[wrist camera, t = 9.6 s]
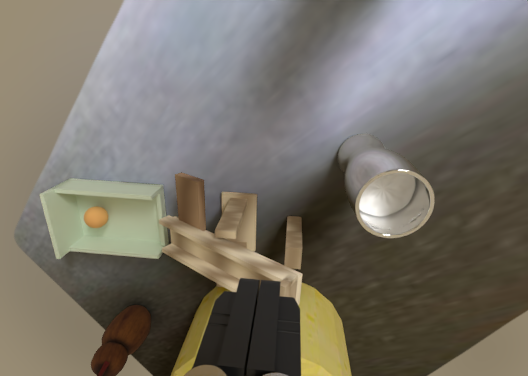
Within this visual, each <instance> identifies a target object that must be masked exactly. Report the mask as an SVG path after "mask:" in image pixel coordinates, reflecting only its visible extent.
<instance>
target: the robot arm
mask: <svg viewBox="0 0 528 376" xmlns="http://www.w3.org/2000/svg"><path fill="white" fill-rule="evenodd" d="M280 283H281V281H270V280H261V283H260V280H258V279H247V278H240V280H239V284H238V287H237V291H236V292H229V291H224V292H223V293H222V294H221V295H220V296H219V297H218V298H217V299H216V300H215V303H214V306H213V309H212V312H211V315H210V318H209V321H208V325H207V327H206V329H205V332H204V335H203V338H202V341H201V344H200V347H199V350H198V353H197V356H196V359H195V362H194V364H193V367H192V369H191V370H189V371H188V372H187V373H186V374H185V375H184V376H301V335H300V332H301V331H300V308H299V306H298V304H297V302H296V300H295V298H293V297H283V296H280Z"/></svg>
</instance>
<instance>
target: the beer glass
mask: <svg viewBox="0 0 528 376" xmlns="http://www.w3.org/2000/svg"><path fill="white" fill-rule="evenodd" d="M338 164H339V167H340V169H341V170H342V172H343V173H344V174H345V175H344V185H345V192H346V195H347V199H348V201H349V203H350V206H351V208H352V209H353V211H354V213H355V215H356V216H357V218H358V221H359V222H360V224H361V225H362V226H363V227H364V228H365V229H366V230H367V231H368V232H370V233H372V234H374V235H376V236H379V237H384V238H398V237H403V236H406V235H409V234H411V233H413V232H415V231H416V230H418V229H419V228H420V227H422V226H423V225H424V224H425V223H426V221H427V220H428V219H429V217H430V215H431V213H432V211H433V208H434V202H435V198H434V192H433V189H432V187H431V185H430V184H429V182H428V181H427V180H426V179H425V178H424V177H423V176H422V174H421V173H420V172H419V171H418V169H417V168H416V167H415V166H414V165H413V164H412V163H411V162H410V161H409V160H407V159H406V158H405V157H403V156H402V155H400V154H398V153H396V152H394V151H392V150H389V149H386V148H385V147H384V145H383V143H382V142H381V141H380V140H379V139H378V138H377V137H375V136H373V135H370V134H357V135H354V136H351V137H350V138H348V139H347V140H346V141H345V142H344V143H343V144H342V145H341V147H340V149H339V152H338Z"/></svg>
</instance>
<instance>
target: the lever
mask: <svg viewBox="0 0 528 376" xmlns="http://www.w3.org/2000/svg"><path fill="white" fill-rule="evenodd" d="M175 180H176V193H177V205H178V217H176V216H174V217H172V216H169V215H168V216H166V217H164V218H161V219H159V224H161V225H163V226H165V227H167V228H169V229H170V233H171V244H169V245H167V246H165V247H163V248H162V252H163V253H165V254H167V255H168V256H170V257H172V258H174V259H175V260H177V261H179V262H181V263H182V264H184V265H186V266H188V267H189V268H191V269H193V270H195V271H196V272H198V273H200V274H202V275H203V276H205V277H207V278H209V279H211V280H212V281H214V282H216V283H218V284H219V285H221V286H223V287H225V288H226V289H228V290H230V291H232V292H236V291H237V287H238V284H239V280H240V278H247V279H258V280H260V283H261V280H270V281H281V283H280V296H283V297H293V298H295V300H296V302H297V304H298V305H299V304H300V294H301V284H302V273H300V272H297V271H295V270H293V269H291V268H289V267H286V266H284V265H282V264H280V263H278V262H275V261H273V260H271V259H269V258H267V257H264V256H262V255H260V254H258V253H256V252H253V251H251V250H249V249H247V248H245V247H242V246H240V245H238V244H236V243H234V242H231V241H229V240H227V239H225V238H219V237H215V234H214V233H212V232H209V231H207V230H206V217H205V194H204V180H202V179H199V178H196V177H193V176H190V175H187V174H185V173H182V172H181V173H178V174H175Z"/></svg>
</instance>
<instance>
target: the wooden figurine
mask: <svg viewBox="0 0 528 376" xmlns="http://www.w3.org/2000/svg"><path fill="white" fill-rule="evenodd" d="M150 327H151V315H150V313H149V311H148V310H147V309H146V308H145V307H143V306H141V305H131V306H129V307H127V308H126V309H124V310H123V311H122V312H121V313H119V314H118V315H117V316H116V317H115V318H114V319H113V321H112V322H111V323H110V325H109V326H108V327H107V329H106V330H105V332H104V334H103V337H102V346H101V347H100V348H99V349H98V350H97V351H96V353H95V354H94V357H93V359H92V362H91V368H92V370H93V372H94V373H95V374H96V375H97V376H116V375H117V374H118V373H119V372H120V371H121V370H122V368H123V367H124V365H125V363H126V361H127V358H128V355H130V354H132V353H133V352H134V351H136V350H137V349H138V348H139V347H140V345H141V344H142V343H143V342H144V340H145V339H146V337H147V336H148V334H149V331H150Z"/></svg>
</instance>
